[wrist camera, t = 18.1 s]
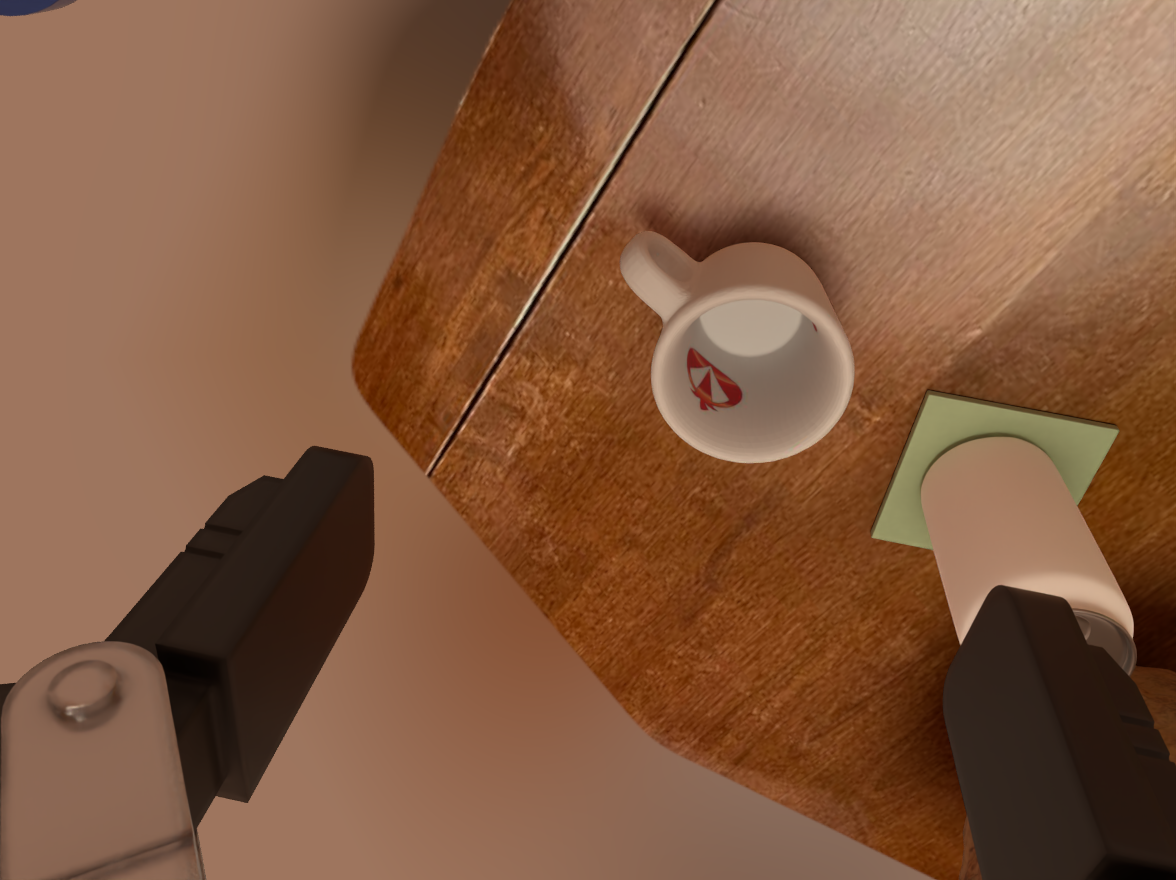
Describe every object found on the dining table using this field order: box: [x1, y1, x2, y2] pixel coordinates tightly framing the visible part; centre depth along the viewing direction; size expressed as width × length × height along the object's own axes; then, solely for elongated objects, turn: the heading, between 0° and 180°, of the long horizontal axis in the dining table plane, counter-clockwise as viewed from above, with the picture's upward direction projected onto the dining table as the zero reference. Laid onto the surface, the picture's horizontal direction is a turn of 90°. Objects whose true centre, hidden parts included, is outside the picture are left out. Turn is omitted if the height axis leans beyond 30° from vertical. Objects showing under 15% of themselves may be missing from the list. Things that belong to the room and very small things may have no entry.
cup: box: [620, 231, 854, 463], centre depth 37 cm, size 11×8×8 cm
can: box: [921, 437, 1137, 677], centre depth 39 cm, size 6×6×12 cm
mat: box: [871, 390, 1119, 550], centre depth 44 cm, size 9×9×1 cm
